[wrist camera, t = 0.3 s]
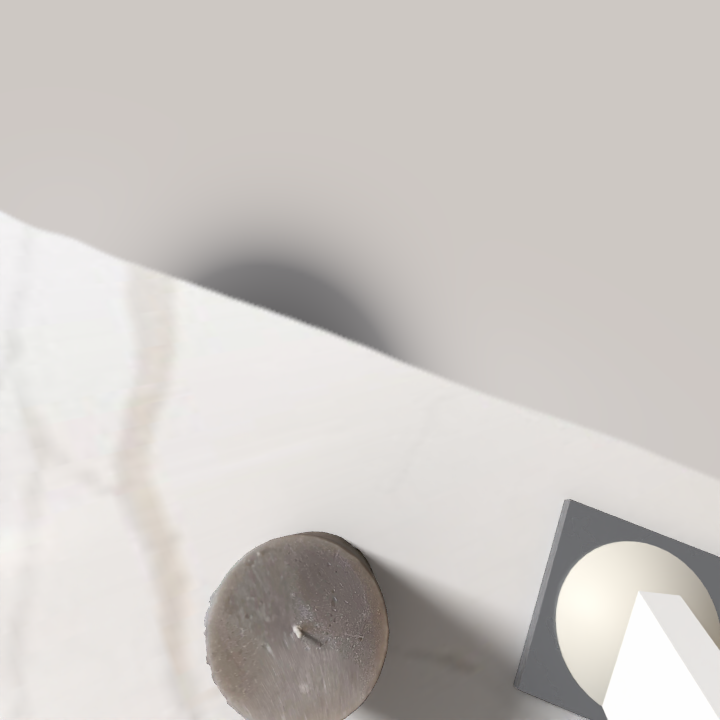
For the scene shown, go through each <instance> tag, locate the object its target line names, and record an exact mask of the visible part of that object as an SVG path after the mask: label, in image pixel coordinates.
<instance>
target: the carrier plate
mask: <svg viewBox="0 0 720 720" xmlns="http://www.w3.org/2000/svg"><path fill="white" fill-rule="evenodd" d="M621 541H633V542H641V543H647V544H650V545H653V546H656V547H659V548H661V549H663V550H665V551H667V552H669V553H671V554H672V555H674V556H676V557H677V558H678V559H680V560H681V561H682V562H684V563H685V564H686V565H687V566H688V567H689V568H690V569H691V570H692V571H693V572H694V573H695V574H696V576H697V577H698V578H699V579H700V580H701V582H702V583H703V585H704V587H705V588H706V590H707V591H708V593H709V595H710V597H711V599H712V601H713V604H714V606H715V609H716V612H717V615H718V619H719V623H720V557H718V556H715V555H713V554H710V553H708V552H705V551H702V550H700V549H697V548H695V547H692V546H690V545H687V544H684V543H682V542H679V541H677V540H674V539H672V538H669V537H666V536H664V535H661V534H659V533H656V532H653V531H651V530H648V529H646V528H643V527H641V526H638V525H635V524H633V523H630V522H628V521H625V520H623V519H620V518H617V517H615V516H612V515H610V514H607V513H604V512H602V511H599V510H597V509H594V508H592V507H589V506H586V505H584V504H581V503H579V502H576V501H574V500H571V499H569V500H565V501H564V504H563V508H562V511H561V515H560V519H559V522H558V526H557V530H556V533H555V537H554V540H553V544H552V548H551V551H550V555H549V559H548V562H547V566H546V569H545V573H544V577H543V580H542V584H541V588H540V591H539V595H538V598H537V602H536V606H535V609H534V613H533V617H532V620H531V624H530V627H529V631H528V635H527V638H526V642H525V645H524V649H523V653H522V656H521V660H520V664H519V667H518V671H517V674H516V678H515V682H514V686H515V687H516V688H517V689H518V690H520V691H523V692H525V693H528V694H530V695H532V696H535V697H537V698H540V699H542V700H545V701H547V702H549V703H552V704H554V705H557V706H559V707H561V708H564V709H566V710H569V711H571V712H573V713H576V714H578V715H581V716H583V717H585V718H588V719H590V720H608V719H607V717H606V715H605V712H604V710H603V708H602V706H601V705H599V704H598V703H597V702H595V701H594V700H593V699H592V698H591V697H589V696H588V695H587V694H586V693H585V692H584V690H583V689H582V688H581V687H580V686H579V685H578V683H577V682H576V681H575V679H574V678H573V676H572V675H571V673H570V671H569V670H568V668H567V666H566V664H565V661H564V659H563V657H562V654H561V651H560V648H559V644H558V640H557V634H556V623H555V616H556V605H557V600H558V596H559V592H560V589H561V586H562V584H563V582H564V580H565V578H566V576H567V575H568V573H569V572H570V570H571V569H572V567H573V566H574V565H575V564H576V563H577V562H578V561H579V560H580V559H581V558H582V557H583V556H585V555H586V554H587V553H589V552H590V551H592V550H594V549H596V548H598V547H600V546H603V545H606V544H609V543H613V542H621Z"/></svg>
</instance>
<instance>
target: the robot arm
mask: <svg viewBox="0 0 720 720" xmlns="http://www.w3.org/2000/svg"><path fill="white" fill-rule="evenodd" d="M602 708H603V710H604V712H605V715H606V717H607V719H608V720H720V650H719V649H718V647H717V646H716V645H715V643H714V642H713V640H712V639H711V638H710V636H709V635H708V633H707V632H706V631H705V629H704V628H703V627H702V625H701V624H700V622H699V621H698V620H697V618H696V617H695V615H694V614H693V613H692V611H691V610H690V608H689V607H688V606H687V604H686V603H685V602H684V600H683V599H682V597H681V596H680V595H671V594H662V593H653V592H645V591H638V594H637V597H636V600H635V603H634V607H633V610H632V613H631V616H630V619H629V623H628V626H627V629H626V632H625V635H624V638H623V642H622V645H621V648H620V651H619V654H618V657H617V661H616V664H615V667H614V670H613V673H612V676H611V680H610V683H609V686H608V689H607V692H606V696H605V699H604V702H603V705H602Z"/></svg>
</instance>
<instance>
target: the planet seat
mask: <svg viewBox="0 0 720 720" xmlns="http://www.w3.org/2000/svg"><path fill="white" fill-rule="evenodd" d="M638 591H645V592H653V593H662V594H671V595H680V596H681V597H682V599H683V600H684V602H685V603H686V604H687V606H688V607H689V608H690V610H691V611H692V613H693V614H694V615H695V617H696V618H697V620H698V621H699V622H700V624H701V625H702V627H703V628H704V629H705V631H706V632H707V633H708V635H709V636H710V638H711V639H712V640H713V642H714V643H715V645H716V646H717V647H718V649H719V650H720V623H719V619H718V615H717V612H716V609H715V606H714V604H713V601H712V599H711V597H710V595H709V593H708V591H707V590H706V588H705V587H704V585H703V583H702V582H701V580H700V579H699V578H698V577H697V576H696V574H695V573H694V572H693V571H692V570H691V569H690V568H689V567H688V566H687V565H686V564H685V563H684V562H682V561H681V560H680V559H678V558H677V557H676V556H674V555H672V554H671V553H669V552H667V551H665V550H663V549H661V548H659V547H656V546H653V545H650V544H647V543H641V542H633V541H621V542H613V543H609V544H606V545H603V546H600V547H598V548H596V549H594V550H592V551H590V552H589V553H587V554H586V555H585V556H583V557H582V558H581V559H580V560H579V561H578V562H577V563H576V564H575V565H574V566H573V567H572V569H571V570H570V572H569V573H568V575H567V576H566V578H565V580H564V582H563V584H562V586H561V589H560V592H559V596H558V600H557V605H556V616H555V623H556V634H557V640H558V644H559V648H560V651H561V654H562V657H563V659H564V661H565V664H566V666H567V668H568V670H569V671H570V673H571V675H572V676H573V678H574V679H575V681H576V682H577V683H578V685H579V686H580V687H581V688H582V689H583V690H584V692H585V693H586V694H587V695H588V696H589V697H591V698H592V699H593V700H594V701H595V702H597V703H598V704H599V705H601V706H602V705H603V702H604V699H605V696H606V692H607V689H608V686H609V683H610V680H611V676H612V673H613V670H614V667H615V664H616V661H617V657H618V654H619V651H620V648H621V645H622V642H623V638H624V635H625V632H626V629H627V626H628V623H629V619H630V616H631V613H632V610H633V607H634V603H635V600H636V597H637V594H638Z"/></svg>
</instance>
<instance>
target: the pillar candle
mask: <svg viewBox="0 0 720 720" xmlns="http://www.w3.org/2000/svg"><path fill="white" fill-rule="evenodd" d="M209 602H210V607H209V608H208V610H207V612H206V617H205V620H204V622H205V623H204V624H205V627H206V630H205V632H204V635H205V636H206V651H207V657H206V659H207V664H209V665H210V667H211V670H212V678H213V681H214V683H215V684H216V685H217V686H218V688H219V689H220V691H221V693H222V694H223V696H224V697H225V698H226V699H227V704H228V705H230V706H231V707H232V708H233V709H235V710H236V711H237V712H238V713H239V714H240V715H242V716H243V717H244V718H245V719H246V720H343V719H345V718H346V717H347V716H349V715H350V714H351V713H353V712H354V711H355V710H356V709H357V708H358V707H359V706H361V704H362V703H363V702H364V701H365V700H366V699H367V697H368V696H369V694H370V692H371V691H372V689H373V688H374V686H375V684H376V682H377V680H378V678H379V676H380V673H381V670H382V667H383V664H384V660H385V657H386V653H387V647H388V637H389V626H388V617H387V610H386V606H385V602H384V598H383V595H382V593H381V590H380V588H379V585H378V583H377V581H376V578H375V576H374V574H373V572H372V569H371V567H370V565H369V563H368V561H367V560H366V558H365V557H364V556H363V555H362V553H361V552H360V551H359V550H358V549H356V548H354V547H352V546H351V544H350V543H348V542H347V541H345V540H344V539H343V538H341V537H339V536H337V535H333V534H329V533H325V532H305V533H299V534H294V535H289V536H284V537H280V538H276V539H272V540H270V541H268V542H266V543H264V544H262V545H260V546H258V547H256V548H254V549H253V550H251V551H250V552H248V553H247V554H245V555H244V556H243V557H242V558H241V559H240V560H239V561H238V562H237V563H236V564H235V565H234V566H233V567H232V568H231V569H230V571H229V572H228V573H227V574H226V576H225V577H224V579H223V580H222V582H221V584H220V585H219V587H218V588H217V590H215V592H214V593H213V594H212V596H211V597H210V601H209Z"/></svg>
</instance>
